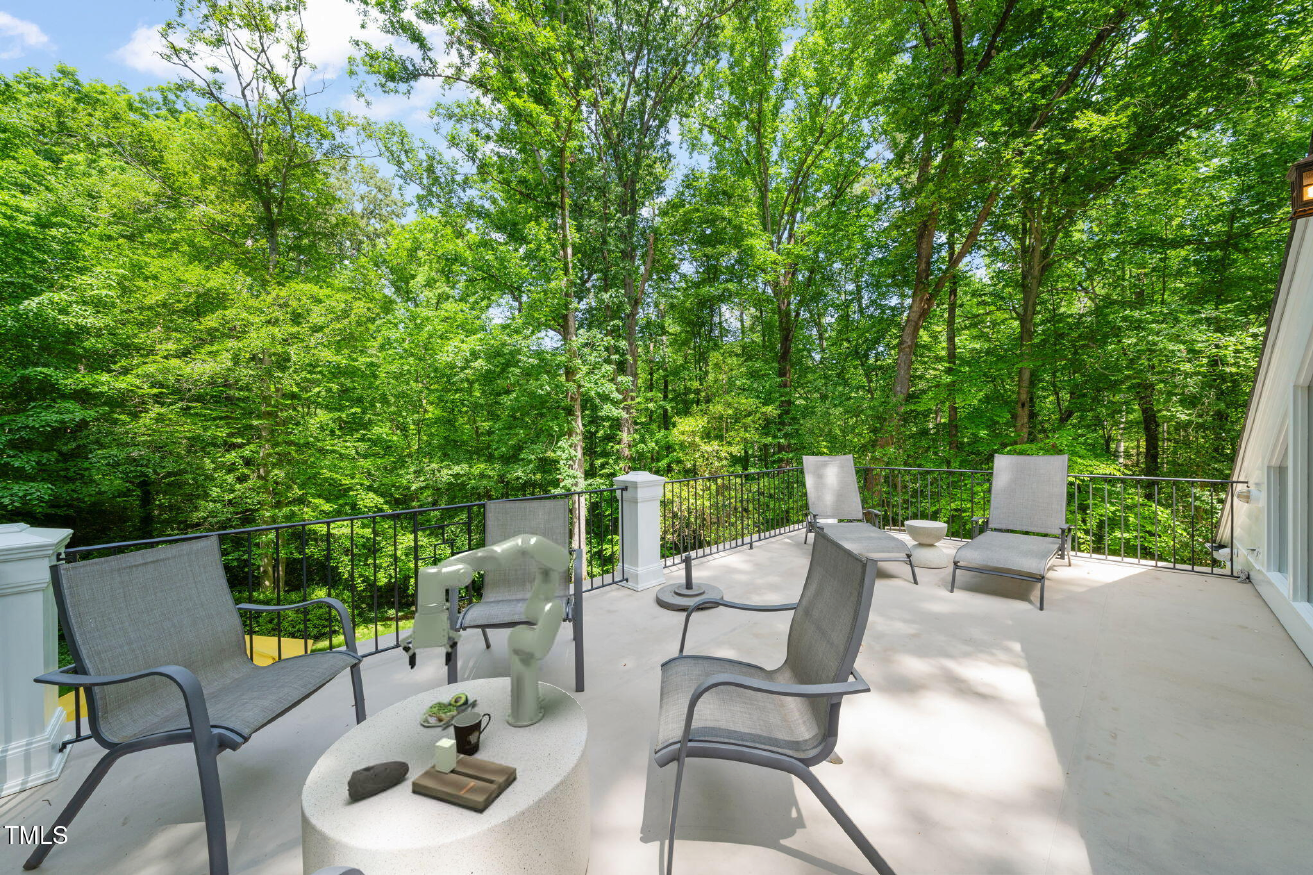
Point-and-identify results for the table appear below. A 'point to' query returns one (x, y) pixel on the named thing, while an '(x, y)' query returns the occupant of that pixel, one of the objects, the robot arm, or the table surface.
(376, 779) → the perforated stone tool
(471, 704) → the salad plate
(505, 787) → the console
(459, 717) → the coffee mug
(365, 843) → the table surface
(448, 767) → the fader
